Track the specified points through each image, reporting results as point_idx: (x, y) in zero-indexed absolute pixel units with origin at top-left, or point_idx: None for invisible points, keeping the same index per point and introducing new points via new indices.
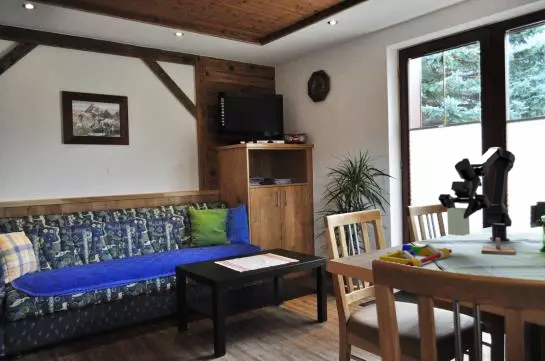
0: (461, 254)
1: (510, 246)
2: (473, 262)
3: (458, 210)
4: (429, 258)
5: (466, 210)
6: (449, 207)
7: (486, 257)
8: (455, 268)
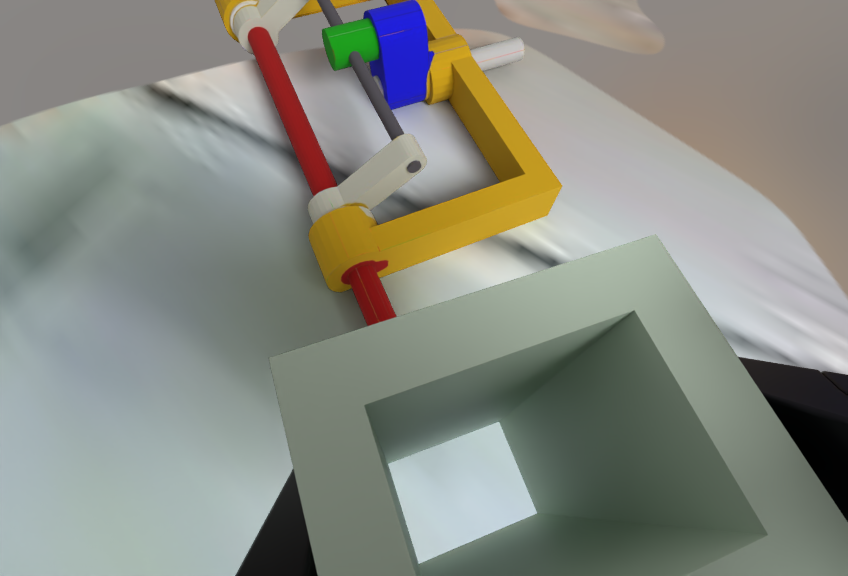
0: None
1: None
2: (126, 302)
3: (376, 337)
4: (276, 103)
5: (287, 569)
6: (841, 402)
7: (156, 501)
8: (112, 140)
